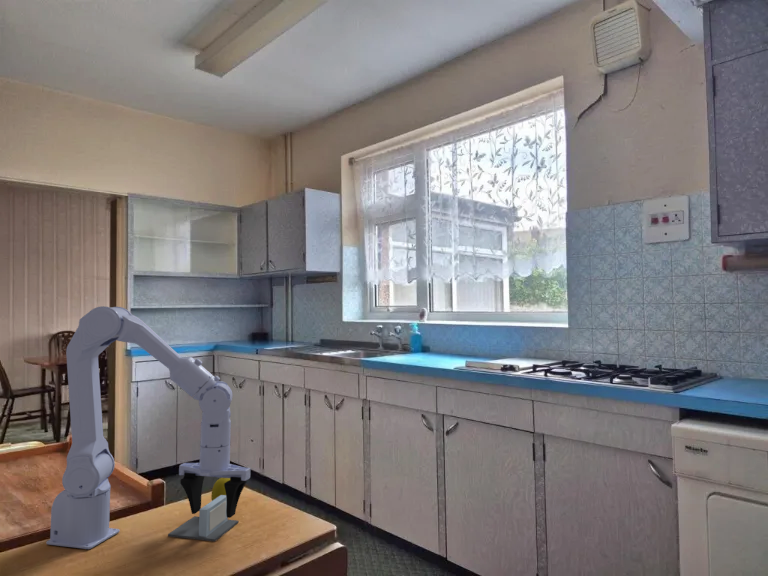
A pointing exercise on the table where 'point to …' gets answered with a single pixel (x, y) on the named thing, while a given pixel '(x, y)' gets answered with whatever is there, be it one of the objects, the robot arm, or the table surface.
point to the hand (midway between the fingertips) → (213, 513)
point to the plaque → (212, 515)
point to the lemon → (219, 488)
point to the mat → (192, 530)
